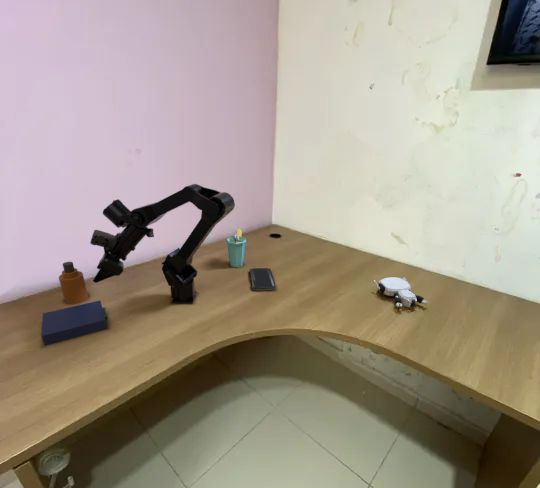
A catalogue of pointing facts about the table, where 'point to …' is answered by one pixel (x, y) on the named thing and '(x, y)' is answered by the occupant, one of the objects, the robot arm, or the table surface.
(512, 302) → the table surface
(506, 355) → the table surface
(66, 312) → the case
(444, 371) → the table surface
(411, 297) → the robot toy
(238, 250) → the cup
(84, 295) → the bottle
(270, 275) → the phone
